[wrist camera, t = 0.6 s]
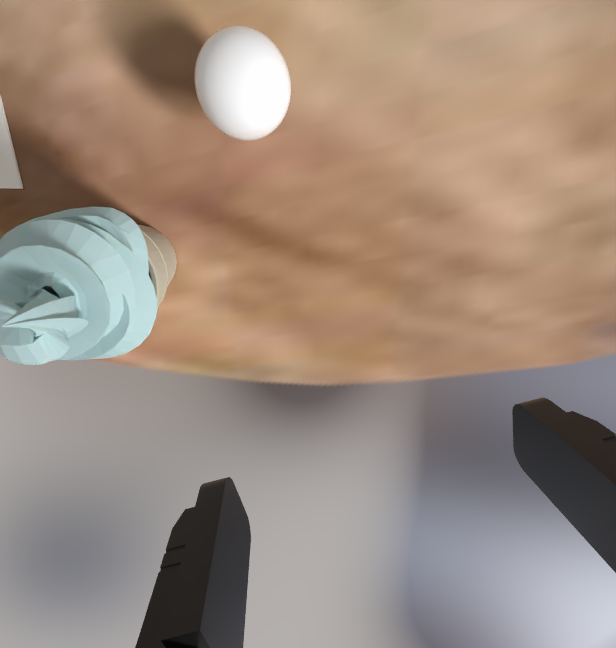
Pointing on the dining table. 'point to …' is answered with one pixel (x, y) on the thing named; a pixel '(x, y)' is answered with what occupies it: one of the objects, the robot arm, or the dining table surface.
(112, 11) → the dining table surface
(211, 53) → the lightbulb
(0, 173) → the letter
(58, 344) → the ice cream cone
